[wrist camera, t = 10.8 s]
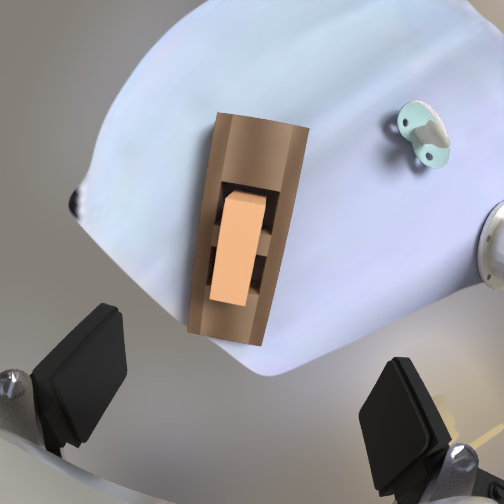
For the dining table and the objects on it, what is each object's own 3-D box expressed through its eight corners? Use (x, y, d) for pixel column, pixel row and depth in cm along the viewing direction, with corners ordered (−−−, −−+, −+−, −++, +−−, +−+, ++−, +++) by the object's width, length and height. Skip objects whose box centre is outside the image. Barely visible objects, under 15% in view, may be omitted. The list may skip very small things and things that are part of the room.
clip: (266, 195, 27) (265, 206, 21) (250, 274, 30) (245, 306, 23) (235, 189, 27) (225, 198, 21) (222, 268, 30) (209, 299, 23)
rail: (304, 131, 25) (309, 128, 22) (261, 331, 32) (261, 346, 29) (222, 117, 25) (217, 112, 22) (193, 317, 32) (187, 331, 29)
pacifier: (415, 90, 23) (383, 119, 24) (446, 77, 17) (412, 109, 18) (452, 143, 24) (423, 174, 26) (487, 142, 18) (457, 178, 20)
